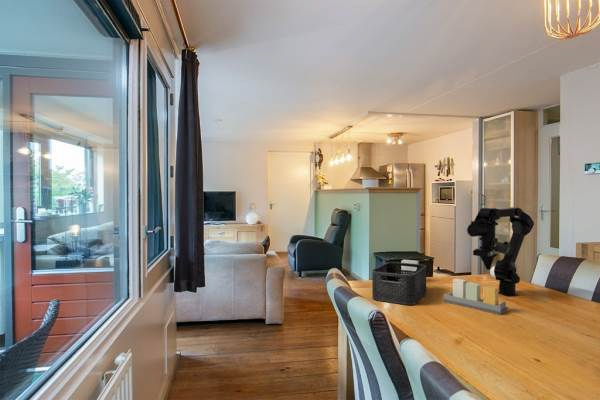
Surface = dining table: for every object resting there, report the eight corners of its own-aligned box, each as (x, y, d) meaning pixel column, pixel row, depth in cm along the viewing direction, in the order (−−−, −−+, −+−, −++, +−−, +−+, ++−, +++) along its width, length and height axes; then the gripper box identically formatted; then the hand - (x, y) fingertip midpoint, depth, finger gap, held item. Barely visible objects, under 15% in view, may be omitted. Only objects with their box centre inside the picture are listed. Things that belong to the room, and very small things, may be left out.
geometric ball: (502, 284, 191) (512, 273, 188) (492, 280, 189) (502, 269, 185) (493, 274, 198) (503, 264, 195) (484, 271, 195) (493, 260, 192)
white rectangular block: (456, 296, 155) (456, 278, 155) (466, 298, 152) (466, 280, 152) (452, 297, 153) (452, 279, 153) (463, 299, 150) (462, 281, 149)
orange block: (486, 304, 143) (486, 285, 143) (498, 307, 139) (498, 287, 139) (483, 306, 140) (483, 286, 140) (495, 309, 137) (495, 289, 137)
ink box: (419, 282, 187) (419, 260, 187) (417, 284, 183) (417, 261, 183) (403, 280, 191) (403, 259, 191) (401, 282, 187) (401, 260, 187)
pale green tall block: (469, 300, 148) (469, 282, 148) (480, 303, 145) (480, 284, 144) (465, 302, 146) (465, 283, 146) (476, 305, 142) (476, 285, 142)
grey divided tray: (452, 298, 157) (452, 291, 157) (507, 310, 140) (507, 302, 140) (443, 301, 152) (443, 294, 152) (500, 314, 135) (500, 306, 135)
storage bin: (389, 286, 180) (389, 260, 180) (427, 291, 170) (427, 264, 169) (370, 300, 156) (369, 270, 155) (413, 307, 145) (413, 275, 145)
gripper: (499, 238, 144) (499, 275, 144) (515, 235, 156) (515, 269, 157) (472, 236, 153) (472, 271, 153) (489, 233, 165) (489, 265, 165)
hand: (488, 269), depth 157 cm, fingers closed
